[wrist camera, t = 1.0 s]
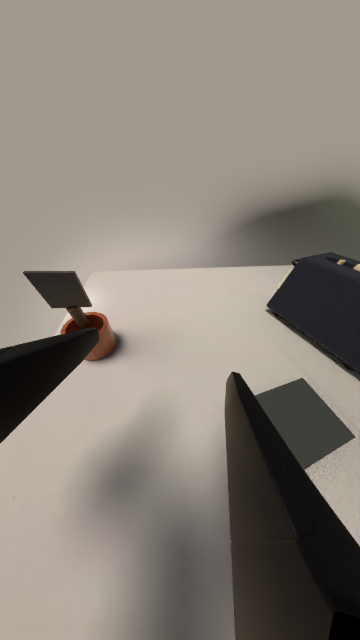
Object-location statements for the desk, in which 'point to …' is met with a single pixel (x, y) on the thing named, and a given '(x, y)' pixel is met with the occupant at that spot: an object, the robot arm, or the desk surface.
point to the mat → (304, 421)
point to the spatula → (62, 292)
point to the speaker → (324, 303)
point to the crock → (105, 334)
